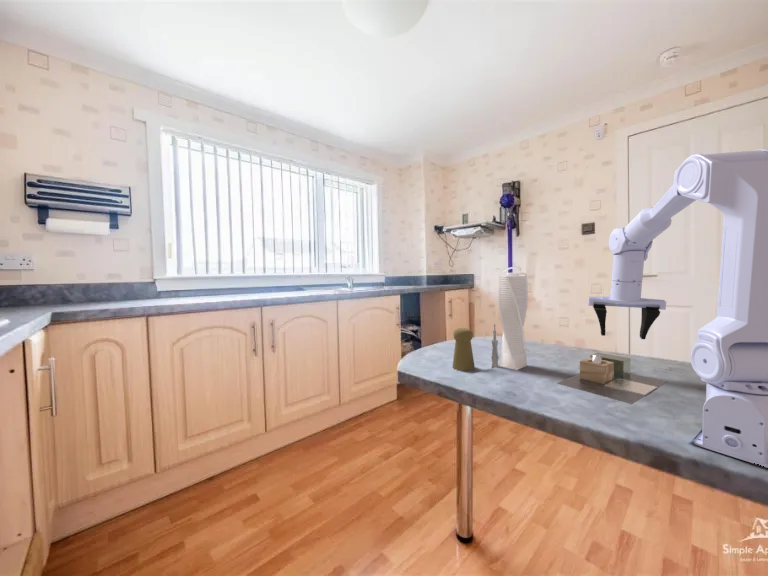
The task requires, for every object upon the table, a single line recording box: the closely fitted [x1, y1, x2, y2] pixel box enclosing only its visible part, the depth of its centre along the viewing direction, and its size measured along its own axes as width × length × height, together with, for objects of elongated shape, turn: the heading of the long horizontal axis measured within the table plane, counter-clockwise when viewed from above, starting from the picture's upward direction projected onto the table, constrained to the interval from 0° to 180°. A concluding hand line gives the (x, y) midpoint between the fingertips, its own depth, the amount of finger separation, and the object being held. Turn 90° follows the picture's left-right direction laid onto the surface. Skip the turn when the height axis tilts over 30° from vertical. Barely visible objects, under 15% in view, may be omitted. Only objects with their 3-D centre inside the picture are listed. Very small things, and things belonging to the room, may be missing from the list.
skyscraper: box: [490, 266, 529, 371], centre depth 84 cm, size 8×8×28 cm
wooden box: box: [579, 357, 614, 384], centre depth 73 cm, size 5×5×4 cm
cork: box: [452, 327, 476, 372], centre depth 87 cm, size 6×6×11 cm
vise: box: [556, 352, 668, 405], centre depth 71 cm, size 21×14×6 cm, turn 123°
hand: (622, 336), depth 76 cm, fingers open, 7 cm apart
